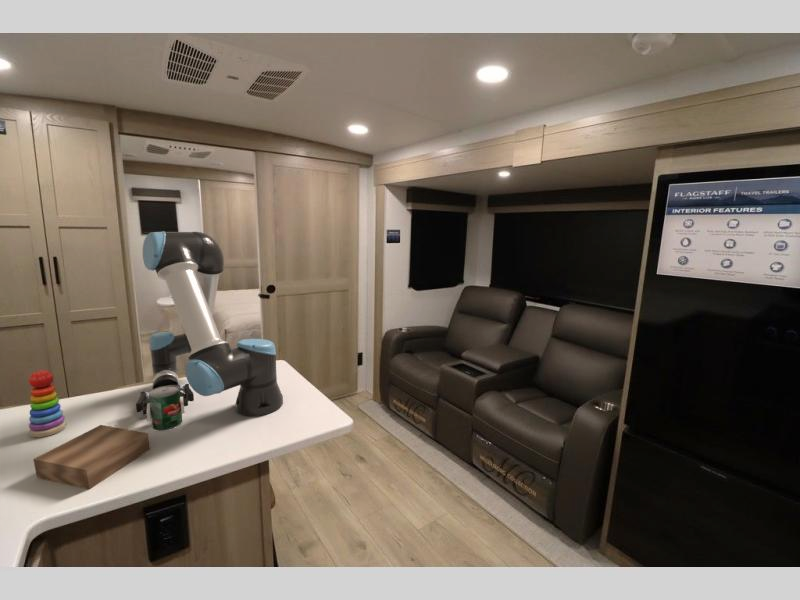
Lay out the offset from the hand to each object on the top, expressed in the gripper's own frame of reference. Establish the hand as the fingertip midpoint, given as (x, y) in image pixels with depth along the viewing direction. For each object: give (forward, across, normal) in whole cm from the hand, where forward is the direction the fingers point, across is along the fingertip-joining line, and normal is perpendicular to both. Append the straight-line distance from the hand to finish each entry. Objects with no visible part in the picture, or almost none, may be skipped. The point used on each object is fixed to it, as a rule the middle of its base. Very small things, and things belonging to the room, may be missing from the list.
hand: (166, 412), depth 108 cm
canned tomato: (-5, 0, -6) cm, 8 cm away
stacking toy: (-18, +30, -6) cm, 35 cm away
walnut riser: (+8, +16, -6) cm, 18 cm away
